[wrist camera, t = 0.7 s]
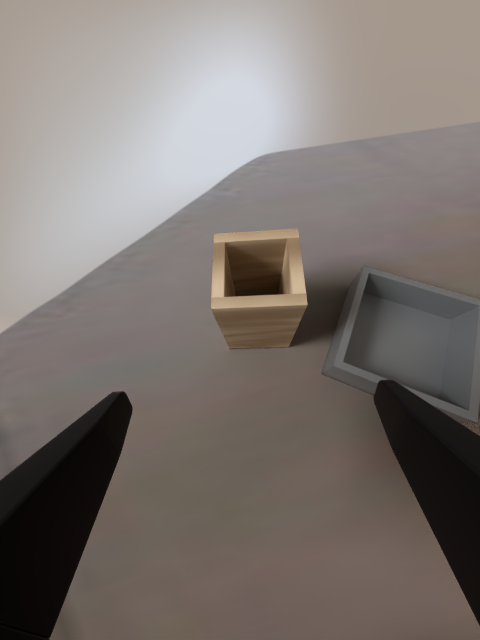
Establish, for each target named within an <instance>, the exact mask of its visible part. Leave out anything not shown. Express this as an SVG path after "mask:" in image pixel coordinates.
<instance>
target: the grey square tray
mask: <svg viewBox="0 0 480 640" xmlns="http://www.w3.org/2000/svg"><path fill="white" fill-rule="evenodd" d="M321 374H323V375H325V376H328V377H330V378H333V379H335V380H338V381H340V382H343V383H345V384H348V385H350V386H353V387H355V388H358V389H360V390H362V391H365V392H367V393H370V394H372V395H374V394H375V391H376V387H377V384H378V382H379V381H380V380H394V381H396V382H397V383H399V384H400V385H402V386H404V387H405V388H407V389H408V390H410V391H411V392H413V393H414V394H416V395H417V396H419V397H420V398H422V399H423V400H425V401H426V402H428V403H430V404H431V405H433V406H434V407H436V408H437V409H439V410H440V411H442V412H443V413H445V414H446V415H448V416H449V417H451V418H453V419H454V420H456V421H457V422H470V423H478V415H479V403H480V299H476V298H473V297H469V296H466V295H462V294H459V293H456V292H452V291H449V290H445V289H442V288H438V287H435V286H432V285H428V284H425V283H421V282H418V281H414V280H411V279H407V278H404V277H401V276H397V275H394V274H390V273H387V272H383V271H380V270H377V269H373V268H370V267H366V266H363V268H362V269H361V271H360V272H359V273H358V275H357V276H356V278H355V279H354V280H353V282H352V283H351V285H350V286H349V288H348V291H347V294H346V297H345V300H344V303H343V307H342V310H341V313H340V316H339V319H338V322H337V325H336V329H335V332H334V335H333V338H332V341H331V344H330V348H329V351H328V354H327V357H326V360H325V363H324V366H323V370H322V373H321Z"/></svg>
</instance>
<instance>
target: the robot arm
mask: <svg viewBox="0 0 480 640" xmlns="http://www.w3.org/2000/svg"><path fill="white" fill-rule="evenodd" d="M374 403H375V406H376V408H377V411H378V414H379V416H380V419H381V422H382V424H383V427H384V430H385V432H386V435H387V438H388V440H389V443H390V445H391V448H392V450H393V452H394V454H395V456H396V458H397V460H398V462H399V464H400V466H401V468H402V470H403V472H404V474H405V476H406V478H407V480H408V482H409V484H410V486H411V488H412V490H413V492H414V494H415V496H416V498H417V500H418V502H419V504H420V506H421V508H422V510H423V513H424V515H425V517H426V519H427V521H428V523H429V525H430V527H431V529H432V531H433V533H434V535H435V537H436V539H437V541H438V543H439V545H440V547H441V549H442V551H443V553H444V555H445V557H446V559H447V561H448V563H449V565H450V567H451V569H452V571H453V573H454V575H455V577H456V579H457V581H458V583H459V585H460V587H461V589H462V591H463V593H464V595H465V597H466V599H467V601H468V603H469V605H470V607H471V609H472V611H473V613H474V615H475V617H476V619H477V621H478V623H479V625H480V436H479V435H477V434H476V433H474V432H472V431H471V430H469V429H468V428H466V427H465V426H463V425H462V424H460V423H459V422H457V421H456V420H454V419H453V418H451V417H449V416H448V415H446V414H445V413H443V412H442V411H440V410H439V409H437V408H436V407H434V406H433V405H431V404H430V403H428V402H426V401H425V400H423V399H422V398H420V397H419V396H417V395H416V394H414V393H413V392H411V391H410V390H408V389H407V388H405V387H404V386H402V385H400V384H399V383H397V382H396V381H394V380H380V381H379V382H378V384H377V387H376V391H375V394H374ZM131 415H132V405H131V403H130V401H129V398H128V396H127V394H126V393H125V392H123V391H121V392H112V393H111V394H109V395H108V396H107V397H105V398H104V399H103V400H102V401H100V402H99V403H98V404H97V405H95V406H94V407H93V408H91V409H90V410H89V411H88V412H86V413H85V414H84V415H83V416H81V417H80V418H79V419H77V420H76V421H75V422H74V423H72V424H71V425H70V426H69V427H67V428H66V429H65V430H64V431H62V432H61V433H60V434H58V435H57V436H56V437H55V438H53V439H52V440H51V441H50V442H48V443H47V444H46V445H44V446H43V447H42V448H41V449H39V450H38V451H37V452H36V453H34V454H33V455H32V456H30V457H29V458H28V459H27V460H25V461H24V462H23V463H22V464H20V465H19V466H18V467H16V468H15V469H14V470H13V471H11V472H10V473H9V474H8V475H6V476H5V477H4V478H2V479H1V480H0V640H49V638H50V636H51V634H52V632H53V629H54V626H55V624H56V621H57V619H58V616H59V613H60V611H61V608H62V606H63V603H64V600H65V598H66V595H67V593H68V590H69V587H70V585H71V582H72V580H73V577H74V574H75V572H76V569H77V567H78V564H79V561H80V559H81V556H82V553H83V551H84V548H85V546H86V543H87V540H88V538H89V535H90V533H91V530H92V527H93V525H94V522H95V520H96V517H97V514H98V512H99V509H100V507H101V504H102V501H103V499H104V496H105V494H106V491H107V488H108V486H109V483H110V481H111V478H112V475H113V473H114V470H115V468H116V465H117V462H118V460H119V457H120V454H121V451H122V447H123V444H124V440H125V437H126V433H127V429H128V426H129V422H130V419H131Z"/></svg>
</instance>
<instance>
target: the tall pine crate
mask: <svg viewBox="0 0 480 640" xmlns="http://www.w3.org/2000/svg"><path fill="white" fill-rule="evenodd" d="M307 305H308V304H307V296H306V288H305V281H304V273H303V266H302V258H301V250H300V243H299V235H298V229H283V230H267V231H252V232H236V233H221V234H214V249H213V273H212V298H211V310H212V312H213V314H214V316H215V318H216V321H217V323H218V325H219V327H220V329H221V331H222V333H223V335H224V338H225V340H226V342H227V344H228V346H229V348H230V349H250V348H284V347H289V346H290V343H291V341H292V339H293V337H294V334H295V332H296V330H297V328H298V325H299V323H300V321H301V319H302V316H303V314H304V312H305V310H306V307H307Z"/></svg>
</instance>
